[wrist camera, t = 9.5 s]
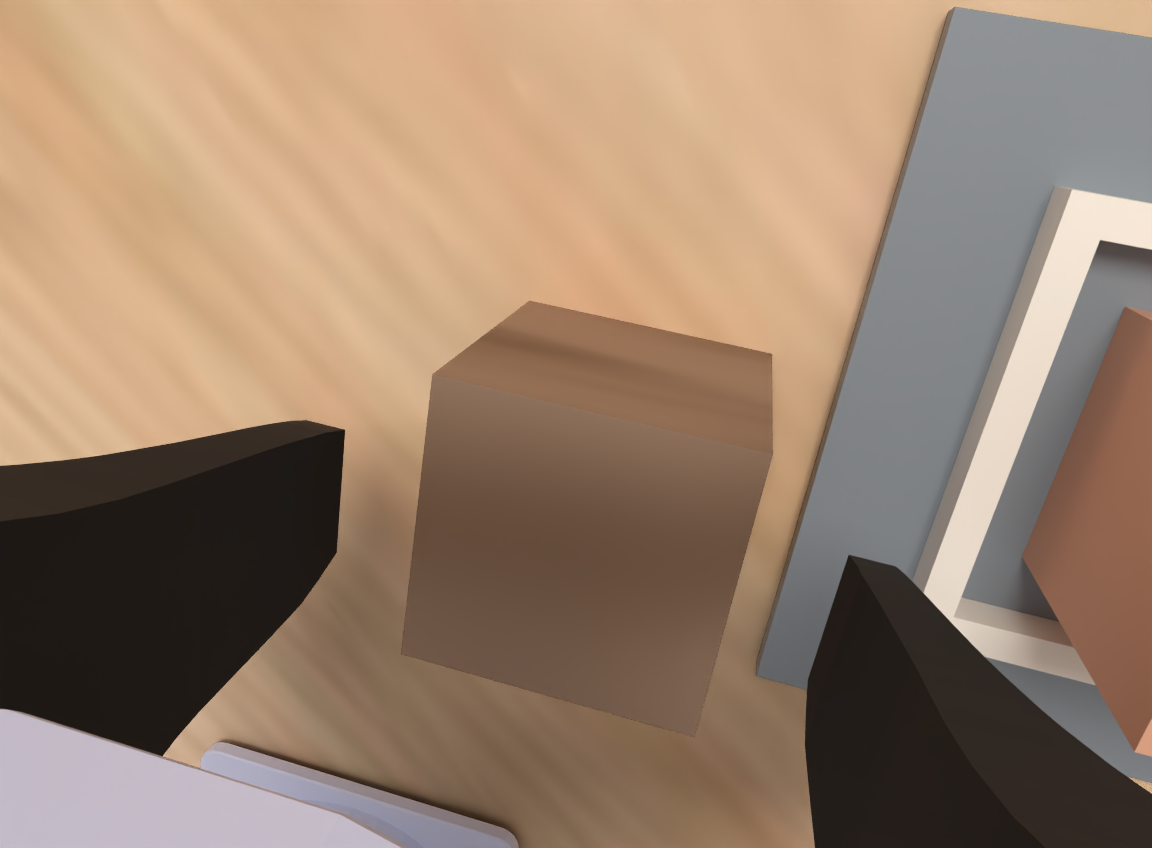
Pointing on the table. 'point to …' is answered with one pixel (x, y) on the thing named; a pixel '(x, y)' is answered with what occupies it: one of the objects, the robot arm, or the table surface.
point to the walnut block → (588, 510)
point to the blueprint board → (985, 350)
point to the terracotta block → (1107, 531)
